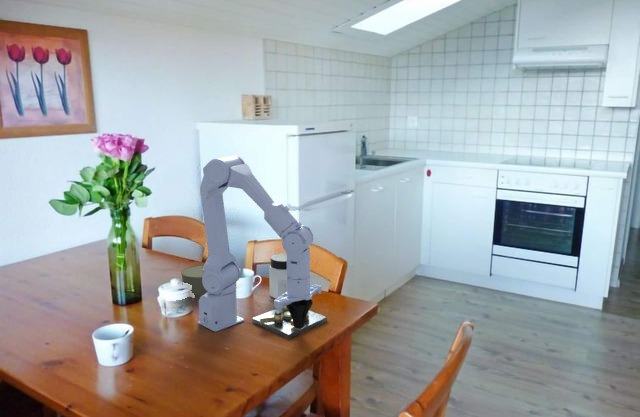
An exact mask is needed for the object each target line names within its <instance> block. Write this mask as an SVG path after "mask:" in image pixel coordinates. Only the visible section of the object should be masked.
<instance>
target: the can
mask: <svg viewBox="0 0 640 417" xmlns="http://www.w3.org/2000/svg"><path fill="white" fill-rule="evenodd" d="M180 274H181V281H182V283H183V282H184V283H188V284H190V285H192V290H191V291H192V293H194V295H195V299H198V298H200V297H201V296H203V295H205V294H206V293H207V290H206V289H205V288H204V286H203V283H202V278H203V275H204V264H197V265H191V266H188V267H185V268H183V269H182V270H181V273H180ZM195 299H194V300H195ZM198 300H199V299H198Z"/></svg>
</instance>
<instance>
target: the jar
mask: <svg viewBox="0 0 640 417" xmlns="http://www.w3.org/2000/svg"><path fill="white" fill-rule="evenodd" d="M268 269H269V270H268V271H269V272H268V274H269V275H268V277H269V296H270V297H272V298H274V300H275V299H277V298H279V297H280V296H282V295H283V294H284V293H286V292H287V253H286V252H285V253H277V254H273V255H271V256H270V265H269V267H268Z"/></svg>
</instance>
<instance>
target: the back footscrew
mask: <svg viewBox="0 0 640 417" xmlns="http://www.w3.org/2000/svg"><path fill="white" fill-rule="evenodd" d="M287 311H289V310H288V308H287V307H286V306H284V307H283V308H282V312H287Z"/></svg>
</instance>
